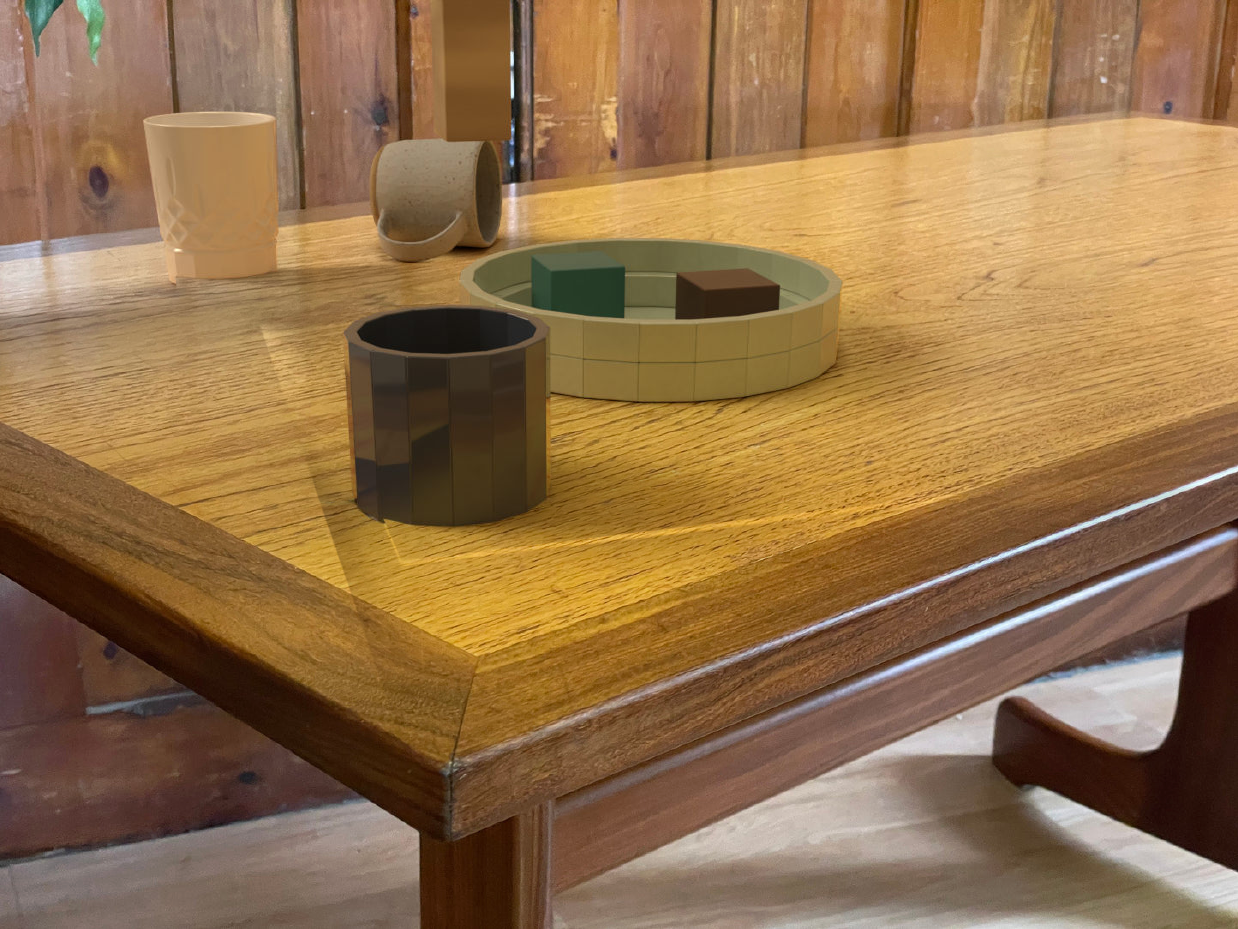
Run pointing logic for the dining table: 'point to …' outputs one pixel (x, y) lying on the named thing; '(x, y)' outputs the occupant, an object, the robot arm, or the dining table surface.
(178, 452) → the dining table surface
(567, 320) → the bowl
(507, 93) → the brown stick
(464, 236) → the ceramic mug
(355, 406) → the stick cup
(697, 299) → the walnut block
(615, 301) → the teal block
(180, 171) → the tan cup
